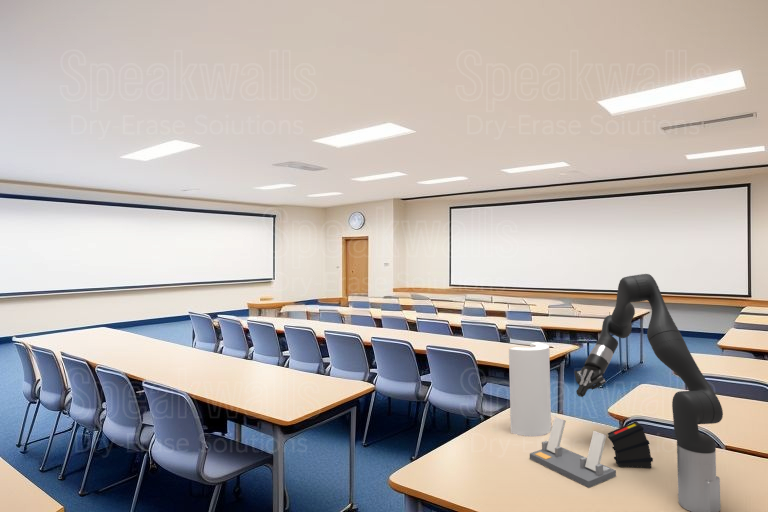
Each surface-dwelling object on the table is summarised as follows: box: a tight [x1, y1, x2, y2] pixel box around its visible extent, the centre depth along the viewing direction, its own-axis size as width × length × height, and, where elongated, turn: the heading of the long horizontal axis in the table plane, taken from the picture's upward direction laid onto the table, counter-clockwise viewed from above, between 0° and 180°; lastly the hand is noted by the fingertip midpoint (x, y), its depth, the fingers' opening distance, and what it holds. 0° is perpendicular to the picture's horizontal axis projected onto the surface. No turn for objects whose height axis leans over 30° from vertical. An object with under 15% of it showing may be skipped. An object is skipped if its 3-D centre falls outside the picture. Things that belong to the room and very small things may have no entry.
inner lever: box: [585, 430, 607, 471], centre depth 149 cm, size 4×1×12 cm, turn 30°
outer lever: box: [547, 416, 567, 453], centre depth 163 cm, size 4×1×12 cm, turn 30°
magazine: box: [607, 420, 654, 469], centre depth 155 cm, size 4×13×15 cm, turn 83°
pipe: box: [508, 341, 552, 437], centre depth 189 cm, size 35×11×21 cm
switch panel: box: [529, 440, 617, 489], centre depth 155 cm, size 24×14×5 cm, turn 30°
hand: (579, 395), depth 170 cm, fingers closed
